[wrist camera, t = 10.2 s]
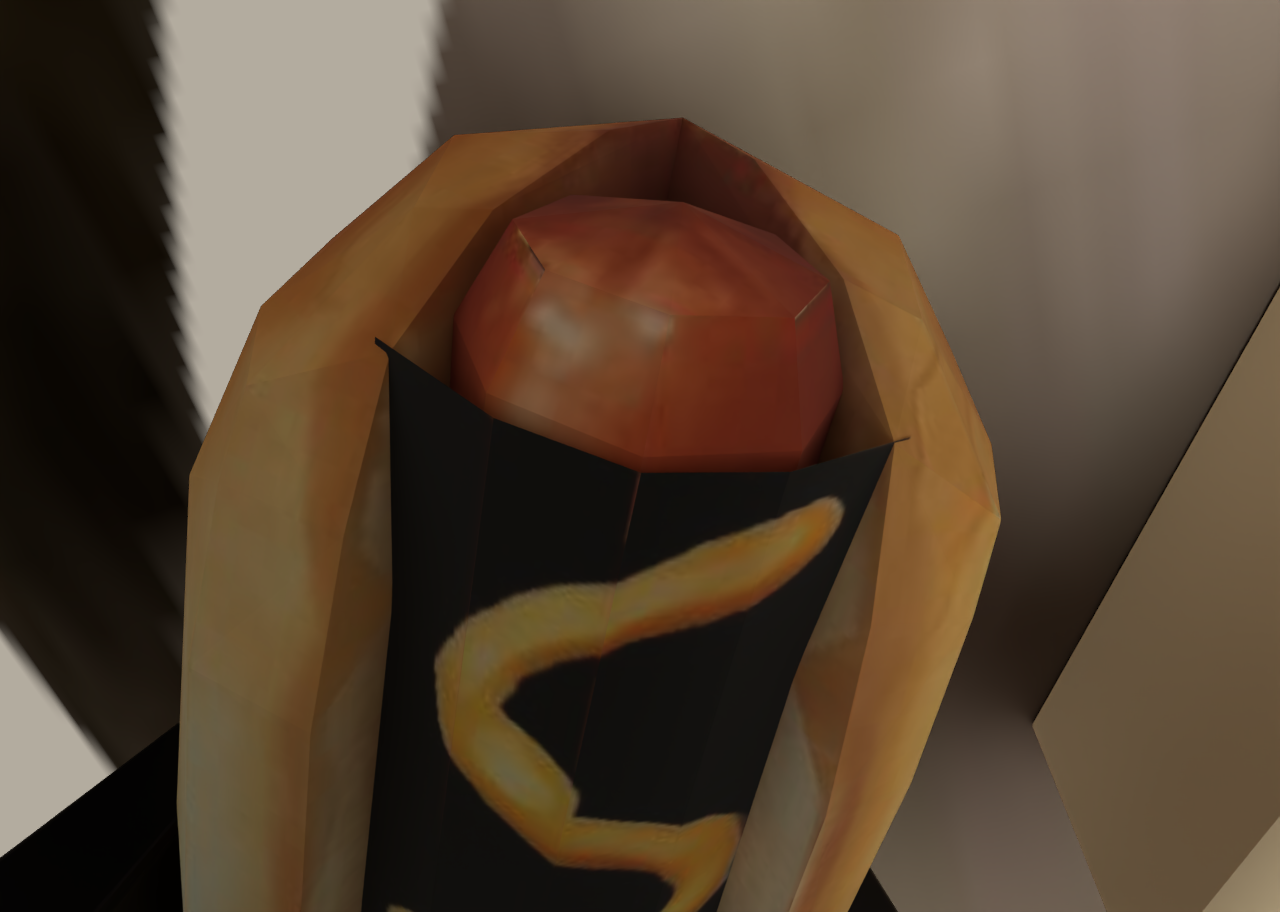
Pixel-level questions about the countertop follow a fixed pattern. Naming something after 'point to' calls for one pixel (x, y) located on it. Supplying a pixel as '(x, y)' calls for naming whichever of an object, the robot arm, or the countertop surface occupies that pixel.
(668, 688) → the hot dog
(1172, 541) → the cream shallow tray
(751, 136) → the countertop surface
